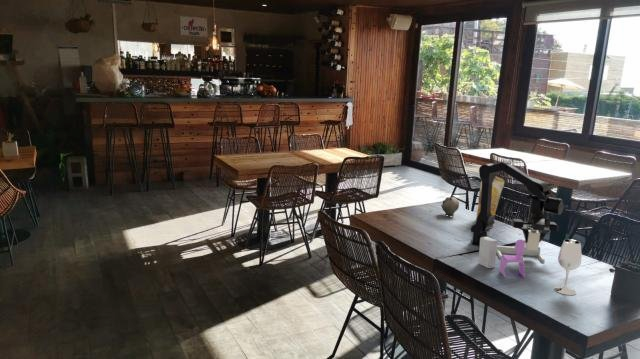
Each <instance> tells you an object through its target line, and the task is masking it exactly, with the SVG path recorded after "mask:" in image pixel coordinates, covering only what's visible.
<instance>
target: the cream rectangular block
mask: <svg viewBox="0 0 640 359" xmlns="http://www.w3.org/2000/svg"><path fill="white" fill-rule="evenodd" d="M539 239H540V233H539V230H533V228H532V229H528V241H527V243H526V241H525V247H526V249H527V250H536V251H538V246H539V247H540V242H539Z"/></svg>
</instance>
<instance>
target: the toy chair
mask: <svg viewBox="0 0 640 359" xmlns="http://www.w3.org/2000/svg"><path fill="white" fill-rule="evenodd" d="M525 242H526V241H525V239H524V240H523V239H518V240H516V241H515V246H514V247H515V251H516V252H517V254H502V257H501V259H500V261H499V262H500V263H499V265H500V266H499V272H500V273H501V275H503V277H504V278H507V276H506V270H505V269H506V266H507V264H509V263H511V264H512V263H518V266H519V267H518V273H519V274H520V275H521V277H522V278H524V279H526V275H525V263H524V262H525V261H524V259H523V260H522V259H521V258H522V256H523V255H522V254H523V252H524V250H525Z"/></svg>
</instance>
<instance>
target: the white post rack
mask: <svg viewBox="0 0 640 359" xmlns="http://www.w3.org/2000/svg"><path fill="white" fill-rule="evenodd" d="M503 254H506V255H517V252H516V251H515V246H509V245H507V246H506V245H498V244H497V249H496V255H497V256H498V258H499V259H500V260H501V257H502V255H503ZM524 256H532V257H537V258H538V259H539V261H540V262H541V263H544V264H545V260H546V259H545V258H544V257H543V256H542V254H541V246H540V245H539V246H538V251H536V250H527V249H526V247H525V250H524V252H523V254H522V258H521V259H522V260H523V261H524Z"/></svg>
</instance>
